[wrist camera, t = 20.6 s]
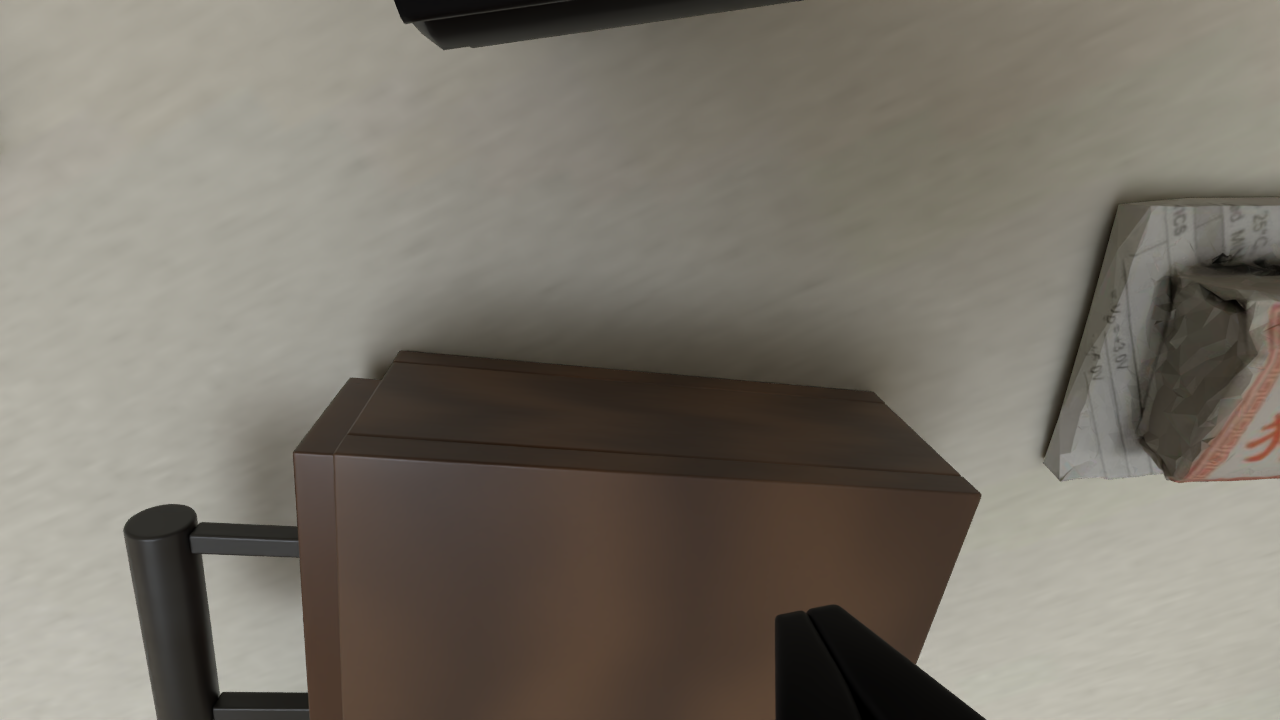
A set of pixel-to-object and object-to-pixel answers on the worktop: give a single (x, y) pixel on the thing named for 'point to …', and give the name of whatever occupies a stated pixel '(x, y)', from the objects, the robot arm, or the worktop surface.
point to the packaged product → (1179, 348)
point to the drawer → (175, 543)
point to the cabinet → (620, 538)
